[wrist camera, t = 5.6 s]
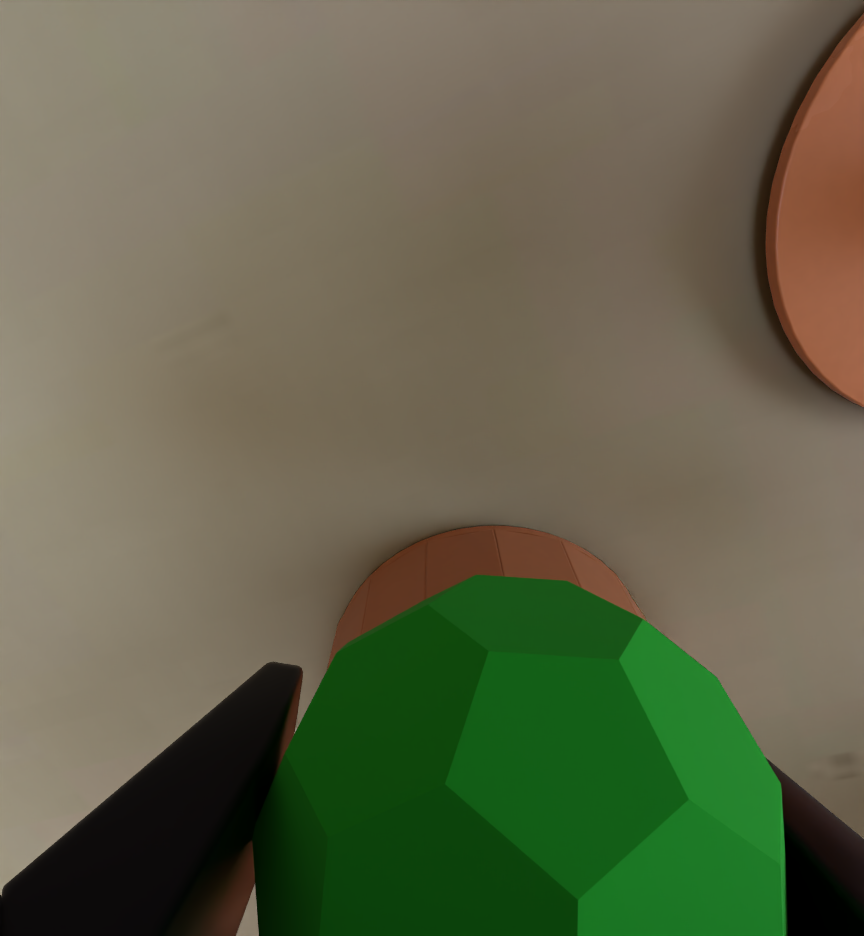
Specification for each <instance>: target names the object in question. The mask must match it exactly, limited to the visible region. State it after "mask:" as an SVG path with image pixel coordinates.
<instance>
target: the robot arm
mask: <svg viewBox="0 0 864 936" xmlns="http://www.w3.org/2000/svg"><path fill="white" fill-rule="evenodd" d="M302 678H303V671H302V668H301V667H300V666H297V665H290V664H284V663H278V662H269V663H267V664H266V665H264V666H263V667H262V668H261V669H260V670H258V671H257V672H256V673H255V674H254V675H252V676H251V677H250V678H249V679H248V680H247V681H245V682H244V683H243V684H242V685H241V686H239V687H238V688H237V689H236V690H235V691H234V692H232V693H231V694H230V695H229V696H228V697H227V698H225V699H224V700H223V701H222V702H221V703H219V704H218V705H217V706H216V707H215V708H214V709H212V710H211V711H210V712H209V713H208V714H206V715H205V716H204V717H203V718H202V719H201V720H199V721H198V722H197V723H196V724H195V725H193V726H192V727H191V728H190V729H189V730H188V731H186V732H185V733H184V734H183V735H182V736H180V737H179V738H178V739H177V740H176V741H175V742H173V743H172V744H171V745H170V746H169V747H167V748H166V749H165V750H164V751H163V752H162V753H160V754H159V755H158V756H157V757H156V758H155V759H153V760H152V761H151V762H150V763H149V764H147V765H146V766H145V767H144V768H143V769H142V770H140V771H139V772H138V773H137V774H136V775H134V776H133V777H132V778H131V779H130V780H129V781H127V782H126V783H125V784H124V785H123V786H121V787H120V788H119V789H118V790H117V791H116V792H114V793H113V794H112V795H111V796H110V797H108V798H107V799H106V800H105V801H104V802H103V803H101V804H100V805H99V806H98V807H97V808H95V809H94V810H93V811H92V812H91V813H90V814H88V815H87V816H86V817H85V818H84V819H83V820H81V821H80V822H79V823H78V824H77V825H75V826H74V827H73V828H72V829H71V830H70V831H68V832H67V833H66V834H65V835H64V836H62V837H61V838H60V839H59V840H58V841H57V842H55V843H54V844H53V845H52V846H51V847H49V848H48V849H47V850H46V851H45V852H44V853H42V854H41V855H40V856H39V857H38V858H36V859H35V860H34V861H33V862H32V863H31V864H29V865H28V866H27V867H26V868H25V869H23V870H22V871H21V872H20V873H19V874H18V875H16V876H15V877H14V878H13V879H12V880H11V881H9V882H8V883H7V884H6V885H5V886H4V887H3V890H2V896H1V895H0V936H236V933H237V931H238V928H239V925H240V923H241V920H242V917H243V914H244V912H245V909H246V906H247V904H248V901H249V898H250V895H251V892H252V890H253V887H254V884H255V873H254V860H253V846H252V838H253V834H254V829H255V824H256V821H257V819H258V816H259V814H260V812H261V809H262V807H263V804H264V802H265V799H266V797H267V795H268V792H269V790H270V787H271V785H272V783H273V780H274V778H275V775H276V773H277V771H278V768H279V766H280V763H281V761H282V759H283V756H284V754H285V752H286V750H287V748H288V746H289V744H290V742H291V740H292V738H293V736H294V731H295V726H296V720H297V713H298V706H299V699H300V692H301V685H302ZM766 760H767V761H768V763H769V765H770V766H771V768H772V770H773V771H774V773H775V775H776V776H777V778H778V780H779V781H780V783H781V792H782V808H783V825H784V841H785V857H786V885H787V924H788V936H864V839H863V838H862V837H860V836H859V835H858V834H857V833H856V832H854V831H853V830H852V829H851V828H850V827H848V826H847V825H846V824H845V823H844V822H842V821H841V820H840V819H839V818H838V817H836V816H835V815H834V814H833V813H831V812H830V811H829V810H828V809H827V808H825V807H824V806H823V805H822V804H821V803H819V802H818V801H817V800H816V799H815V798H813V797H812V796H811V795H810V794H809V793H807V792H806V791H805V790H804V789H803V788H801V787H800V786H799V785H798V784H797V783H795V782H794V781H793V780H792V779H791V778H789V777H788V776H787V775H786V774H785V773H783V772H782V771H781V770H780V769H779V768H777V767H776V766H775V765H774V764H773V763H771V762H770V761H769V760H768V759H767V758H766Z"/></svg>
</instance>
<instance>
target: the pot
mask: <svg viewBox="0 0 864 936" xmlns="http://www.w3.org/2000/svg"><path fill="white" fill-rule="evenodd" d="M474 575H491V576H506V577H520V578H535V579H550V580H565V581H569V582H571V583H573V584H575V585H577V586H579V587H581V588H583V589H585V590H587V591H589V592H591V593H593V594H595V595H597V596H599V597H601V598H603V599H605V600H607V601H609V602H611V603H613V604H615V605H617V606H619V607H621V608H623V609H625V610H627V611H629V612H631V613H633V614H635V615H637V616H639V617H641V618H643V619H644V620H645V621H647V620H646V618H645V617H644V615H643V614H642V612H641V611H640V609H639V608H638V606H637V605H636V603H635V602H634V600H633V599H632V597H631V596H630V594H629V592H628V590H627V589H626V587H625V586H624V585H623V583H622V582H621V581H620V580H619V578H618V577H617V575H616V574H615V573H614V572H613V571H612V570H610V569H609V568H608V567H607V566H606V565H605V564H604V563H603V562H602V561H601V560H599V559H598V558H596V557H595V556H593V555H592V554H591V553H589V552H588V551H586V550H585V549H583V548H581V547H579V546H577V545H575V544H573V543H571V542H569V541H567V540H565V539H562V538H560V537H557V536H554V535H551V534H548V533H545V532H541V531H537V530H532V529H528V528H521V527H512V526H477V527H470V528H462V529H457V530H453V531H449V532H445V533H441V534H438V535H435V536H432V537H430V538H427V539H425V540H422V541H419V542H417V543H415V544H413V545H412V546H410V547H408V548H406V549H404V550H402V551H400V552H399V553H397V554H396V555H394V556H393V557H392V558H390V559H389V560H387V561H386V562H385V563H383V564H382V565H381V566H380V567H379V568H378V569H377V570H375V571H374V572H373V573H372V574H371V575H370V576H369V577H368V578H367V579H366V580H365V582H364V583H363V584H362V585H361V587H360V588H359V589H358V590H357V592H356V593H355V595H354V596H353V598H352V600H351V601H350V603H349V605H348V606H347V608H346V610H345V613H344V615H343V616H342V618H341V619H340V621H339V623H338V625H337V630H336V634H335V638H334V642H333V646H332V651H331V655H330V659H329V663H328V667H327V670H328V668H329V666H330V664H331V662H332V660H333V658H334V656H335V654H336V653H337V652H338V651H339V650H340V649H341V648H342V647H343V646H344V645H346V644H347V643H348V642H350V641H351V640H353V639H355V638H357V637H359V636H360V635H362V634H364V633H366V632H367V631H369V630H371V629H373V628H375V627H376V626H378V625H380V624H382V623H384V622H385V621H387V620H389V619H391V618H393V617H394V616H396V615H398V614H400V613H402V612H403V611H405V610H407V609H409V608H411V607H412V606H414V605H416V604H418V603H420V602H421V601H423V600H425V599H427V598H429V597H431V596H433V595H435V594H437V593H439V592H441V591H443V590H445V589H448V588H450V587H452V586H454V585H456V584H458V583H460V582H462V581H464V580H466V579H468V578H470V577H472V576H474Z"/></svg>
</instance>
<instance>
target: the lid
mask: <svg viewBox="0 0 864 936" xmlns="http://www.w3.org/2000/svg"><path fill="white" fill-rule="evenodd" d="M765 249H766V261H767V273H768V280H769V285H770V289H771V294H772V298H773V303H774V307H775V309H776V312H777V314H778V317H779V320H780V322H781V325H782V327H783V330H784V332H785V334H786V336H787V337H788V339H789V341H790V342H791V344H792V346H793V348H794V349H795V351H796V353H797V354H798V356H799V357H800V358H801V359H802V360H803V362H804V363H805V364H806V365H807V367H808V368H809V369H810V370H811V371H812V373H813V374H814V375H816V376H817V377H818V378H819V379H820V380H821V381H822V382H824V383H825V384H826V385H827V386H828V387H829V388H830V389H832V390H833V391H835V392H836V393H838V394H840V395H841V396H843V397H844V398H846V399H848V400H849V401H851V402H853V403H855V404H857V405H860V406H862V407H864V13H863V15H862V16H861V17H860V18H859V19H858V21H857V22H856V23H855V24H854V25H853V27H852V28H851V29H850V30H849V31H848V33H847V34H846V35H845V36H844V37H843V39H842V40H841V41H840V42H839V44H838V45H837V47H836V48H835V49H834V51H833V52H832V54H831V55H830V57H829V58H828V60H827V61H826V63H825V64H824V66H823V67H822V69H821V70H820V72H819V73H818V75H817V76H816V78H815V80H814V82H813V83H812V85H811V87H810V89H809V91H808V93H807V95H806V97H805V98H804V100H803V102H802V104H801V106H800V108H799V110H798V111H797V114H796V116H795V118H794V121H793V123H792V126H791V128H790V131H789V133H788V136H787V138H786V140H785V143H784V145H783V148H782V151H781V155H780V158H779V162H778V165H777V169H776V172H775V176H774V179H773V183H772V189H771V195H770V200H769V206H768V212H767V225H766V246H765Z"/></svg>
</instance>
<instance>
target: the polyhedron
mask: <svg viewBox="0 0 864 936" xmlns="http://www.w3.org/2000/svg"><path fill="white" fill-rule="evenodd" d="M252 846H253V860H254V873H255V887H256V901H257V915H258V928H259V936H788V924H787V885H786V857H785V841H784V825H783V808H782V792H781V783H780V781H779V780H778V778H777V776H776V775H775V773H774V771H773V770H772V768H771V766H770V765H769V763H768V761H767V760H766V758H765V756H764V755H763V753H762V751H761V750H760V748H759V746H758V745H757V743H756V741H755V740H754V738H753V737H752V735H751V733H750V732H749V730H748V728H747V727H746V725H745V723H744V722H743V720H742V718H741V717H740V715H739V713H738V712H737V710H736V708H735V707H734V705H733V703H732V702H731V700H730V698H729V697H728V695H727V693H726V692H725V690H724V688H723V687H722V685H721V683H720V682H719V680H718V678H717V677H716V676H714V675H713V674H712V673H711V672H709V671H708V670H707V669H706V668H704V667H703V666H702V665H701V664H699V663H698V662H697V661H696V660H694V659H693V658H692V657H691V656H689V655H688V654H687V653H686V652H684V651H683V650H682V649H681V648H679V647H678V646H677V645H676V644H674V643H673V642H672V641H671V640H669V639H668V638H667V637H665V636H664V635H663V634H662V633H660V632H659V631H658V630H657V629H655V628H654V627H653V626H652V625H650V624H649V623H648V622H647V621H645V620H644V619H643V618H641V617H639V616H637V615H635V614H633V613H631V612H629V611H627V610H625V609H623V608H621V607H619V606H617V605H615V604H613V603H611V602H609V601H607V600H605V599H603V598H601V597H599V596H597V595H595V594H593V593H591V592H589V591H587V590H585V589H583V588H581V587H579V586H577V585H575V584H573V583H571V582H569V581H565V580H550V579H535V578H520V577H506V576H491V575H474V576H472V577H470V578H468V579H466V580H464V581H462V582H460V583H458V584H456V585H454V586H452V587H450V588H448V589H445V590H443V591H441V592H439V593H437V594H435V595H433V596H431V597H429V598H427V599H425V600H423V601H421V602H420V603H418V604H416V605H414V606H412V607H411V608H409V609H407V610H405V611H403V612H402V613H400V614H398V615H396V616H394V617H393V618H391V619H389V620H387V621H385V622H384V623H382V624H380V625H378V626H376V627H375V628H373V629H371V630H369V631H367V632H366V633H364V634H362V635H360V636H359V637H357V638H355V639H353V640H351V641H350V642H348V643H347V644H346V645H344V646H343V647H342V648H341V649H340V650H339V651H338V652H337V653H336V654H335V656H334V658H333V660H332V662H331V664H330V666H329V668H328V670H327V672H326V674H325V676H324V678H323V679H322V681H321V683H320V685H319V687H318V689H317V691H316V693H315V695H314V697H313V699H312V701H311V703H310V705H309V707H308V709H307V711H306V713H305V715H304V717H303V718H302V720H301V722H300V724H299V726H298V728H297V730H296V732H295V734H294V736H293V738H292V740H291V742H290V744H289V746H288V748H287V750H286V752H285V754H284V756H283V759H282V761H281V763H280V766H279V768H278V771H277V773H276V775H275V778H274V780H273V783H272V785H271V787H270V790H269V792H268V795H267V797H266V799H265V802H264V804H263V807H262V809H261V812H260V814H259V816H258V819H257V821H256V824H255V829H254V834H253V838H252Z"/></svg>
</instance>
